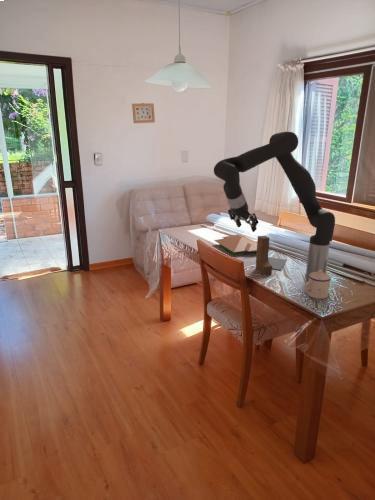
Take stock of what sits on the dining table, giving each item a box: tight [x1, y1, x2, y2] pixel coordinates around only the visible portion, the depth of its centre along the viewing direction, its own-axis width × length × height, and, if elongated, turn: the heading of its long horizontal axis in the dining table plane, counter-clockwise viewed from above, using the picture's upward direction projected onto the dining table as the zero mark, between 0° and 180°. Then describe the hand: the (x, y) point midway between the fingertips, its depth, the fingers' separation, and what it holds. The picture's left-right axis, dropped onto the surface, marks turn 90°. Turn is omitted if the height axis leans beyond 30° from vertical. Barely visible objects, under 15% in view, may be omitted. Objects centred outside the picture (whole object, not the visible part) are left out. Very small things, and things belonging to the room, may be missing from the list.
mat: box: [268, 256, 288, 271], centre depth 200 cm, size 13×18×1 cm
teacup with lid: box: [304, 270, 332, 300], centre depth 159 cm, size 12×9×12 cm
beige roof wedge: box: [213, 234, 257, 257], centre depth 225 cm, size 23×33×8 cm
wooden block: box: [255, 235, 273, 276], centre depth 185 cm, size 9×4×18 cm, turn 19°
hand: (247, 228), depth 169 cm, fingers open, 8 cm apart
